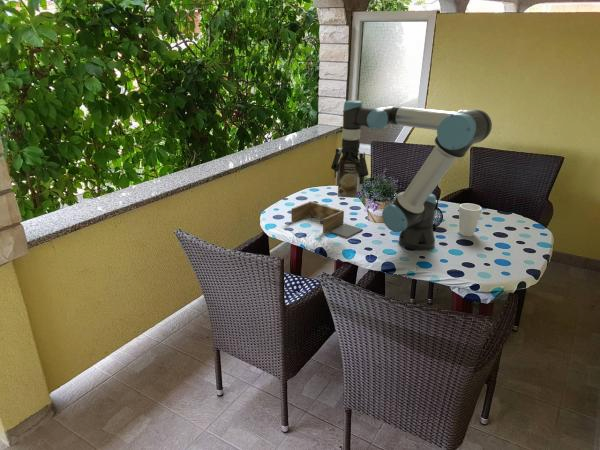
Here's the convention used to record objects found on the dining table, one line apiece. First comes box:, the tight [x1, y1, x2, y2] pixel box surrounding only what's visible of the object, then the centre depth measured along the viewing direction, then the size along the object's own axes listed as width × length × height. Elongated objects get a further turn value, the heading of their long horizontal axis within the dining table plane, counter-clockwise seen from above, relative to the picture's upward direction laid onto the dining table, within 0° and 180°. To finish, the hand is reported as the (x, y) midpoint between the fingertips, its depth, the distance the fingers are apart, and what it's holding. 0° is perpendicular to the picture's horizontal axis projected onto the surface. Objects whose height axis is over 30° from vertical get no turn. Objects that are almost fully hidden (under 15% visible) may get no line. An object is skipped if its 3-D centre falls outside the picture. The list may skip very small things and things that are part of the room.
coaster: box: [329, 223, 364, 239], centre depth 208 cm, size 10×12×1 cm
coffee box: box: [337, 157, 361, 199], centre depth 199 cm, size 9×6×16 cm
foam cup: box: [458, 202, 483, 237], centre depth 205 cm, size 10×9×13 cm
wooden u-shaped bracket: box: [290, 200, 345, 234], centre depth 216 cm, size 20×14×7 cm
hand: (348, 188), depth 201 cm, fingers closed on coffee box, 11 cm apart
